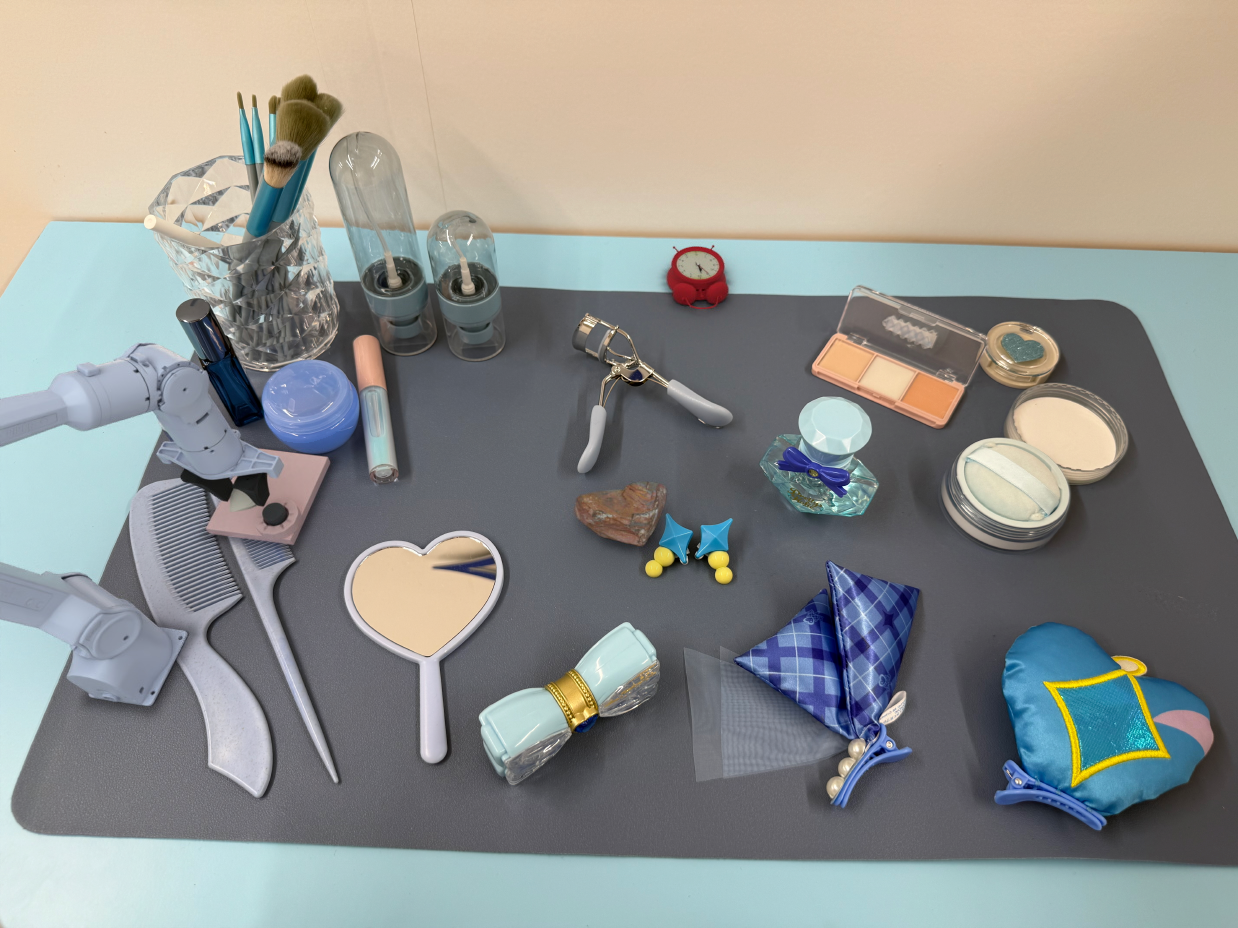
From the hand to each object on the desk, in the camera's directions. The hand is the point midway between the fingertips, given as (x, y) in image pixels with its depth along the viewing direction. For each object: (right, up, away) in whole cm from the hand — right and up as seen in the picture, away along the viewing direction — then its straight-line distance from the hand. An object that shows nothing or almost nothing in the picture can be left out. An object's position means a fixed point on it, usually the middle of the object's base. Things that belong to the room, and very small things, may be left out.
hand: (246, 497), depth 99 cm
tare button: (+2, -3, +5) cm, 6 cm away
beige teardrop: (0, -1, +1) cm, 2 cm away
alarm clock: (+62, +35, +37) cm, 80 cm away
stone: (+48, -6, +7) cm, 49 cm away
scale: (-1, 0, +10) cm, 10 cm away
